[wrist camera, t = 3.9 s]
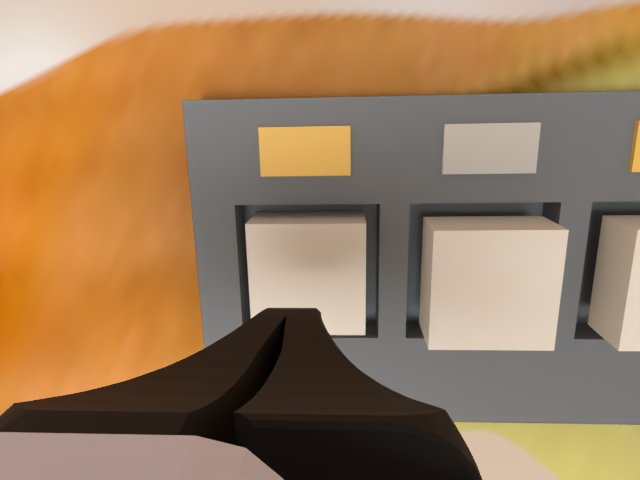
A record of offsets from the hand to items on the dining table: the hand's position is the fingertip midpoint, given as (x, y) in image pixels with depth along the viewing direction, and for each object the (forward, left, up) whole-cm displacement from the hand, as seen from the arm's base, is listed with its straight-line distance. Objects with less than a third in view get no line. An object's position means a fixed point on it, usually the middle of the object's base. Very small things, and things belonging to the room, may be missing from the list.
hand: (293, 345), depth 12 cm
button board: (-6, 0, -7) cm, 9 cm away
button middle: (-6, 0, -5) cm, 8 cm away
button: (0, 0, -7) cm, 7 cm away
